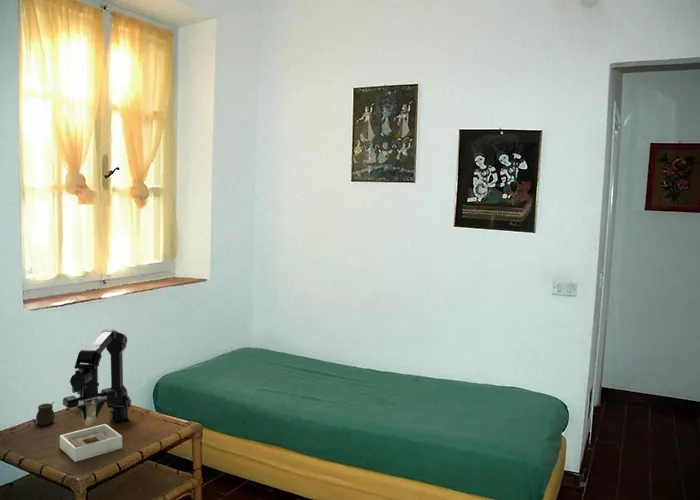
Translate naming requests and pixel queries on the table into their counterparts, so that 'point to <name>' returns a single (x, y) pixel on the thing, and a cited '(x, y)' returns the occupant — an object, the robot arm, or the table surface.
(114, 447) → the open box
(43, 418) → the mate gourd
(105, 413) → the table surface
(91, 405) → the peg
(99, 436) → the bore plate
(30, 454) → the table surface
